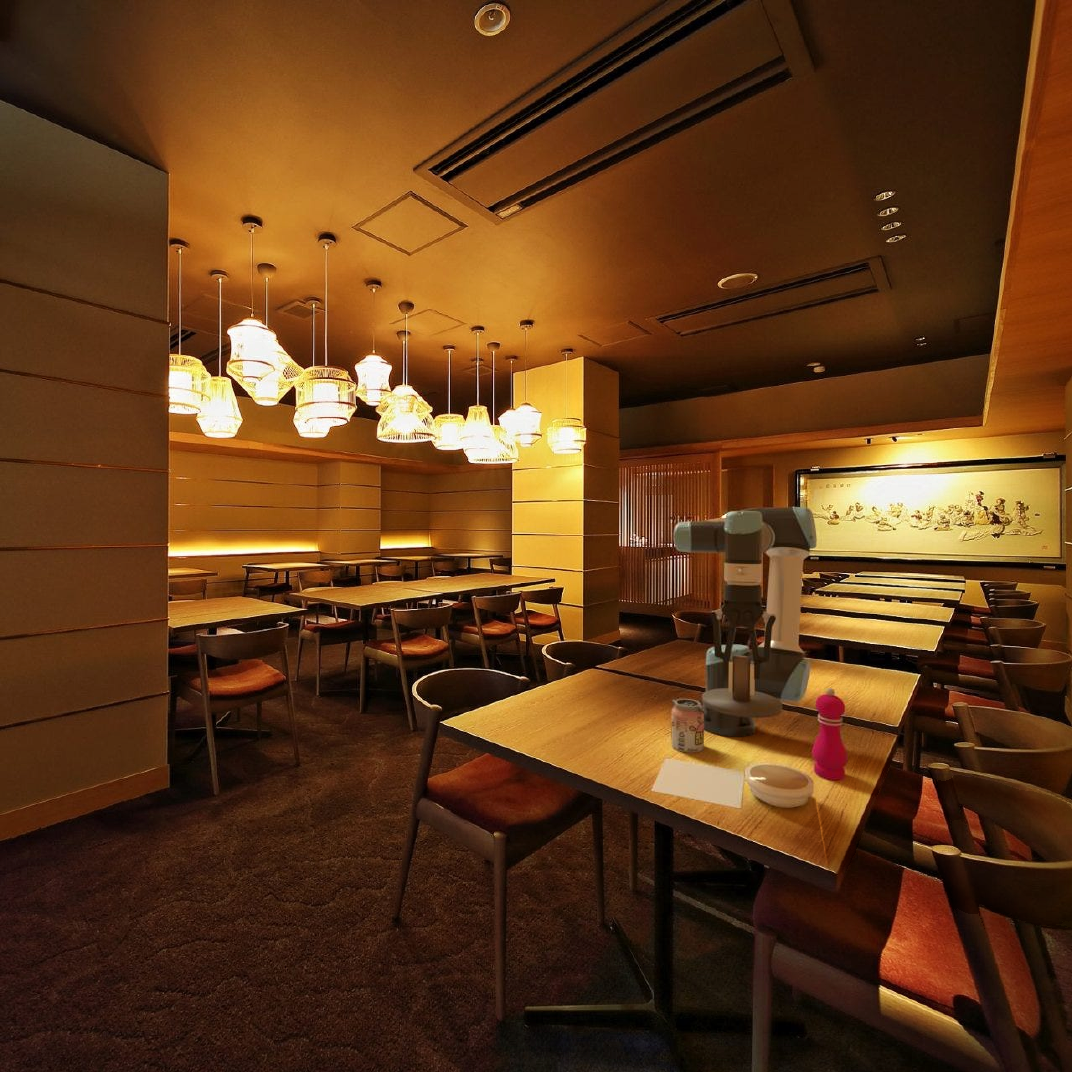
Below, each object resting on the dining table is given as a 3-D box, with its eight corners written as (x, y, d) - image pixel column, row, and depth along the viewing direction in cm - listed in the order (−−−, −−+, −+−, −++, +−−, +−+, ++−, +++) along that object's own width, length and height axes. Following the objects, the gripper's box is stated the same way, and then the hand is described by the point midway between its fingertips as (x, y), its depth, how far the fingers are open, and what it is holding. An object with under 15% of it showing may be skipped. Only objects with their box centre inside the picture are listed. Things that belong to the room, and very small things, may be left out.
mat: (665, 760, 132) (665, 758, 132) (744, 774, 125) (744, 771, 125) (650, 793, 115) (650, 790, 115) (740, 811, 108) (740, 808, 108)
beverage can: (680, 738, 146) (680, 694, 145) (711, 746, 140) (711, 701, 140) (665, 749, 138) (665, 703, 138) (696, 758, 133) (697, 710, 133)
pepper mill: (835, 767, 128) (836, 683, 128) (854, 781, 121) (855, 693, 121) (805, 767, 128) (806, 683, 128) (822, 781, 121) (823, 693, 121)
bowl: (746, 781, 121) (746, 758, 121) (811, 792, 116) (811, 769, 116) (743, 808, 109) (744, 783, 109) (815, 822, 104) (816, 796, 104)
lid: (707, 689, 126) (708, 646, 126) (782, 699, 119) (783, 653, 119) (696, 710, 112) (697, 661, 112) (781, 722, 105) (781, 670, 105)
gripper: (699, 582, 115) (698, 691, 116) (785, 586, 108) (783, 702, 109) (705, 579, 122) (704, 682, 122) (785, 583, 115) (784, 692, 115)
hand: (741, 692), depth 115 cm, fingers closed on lid, 3 cm apart
